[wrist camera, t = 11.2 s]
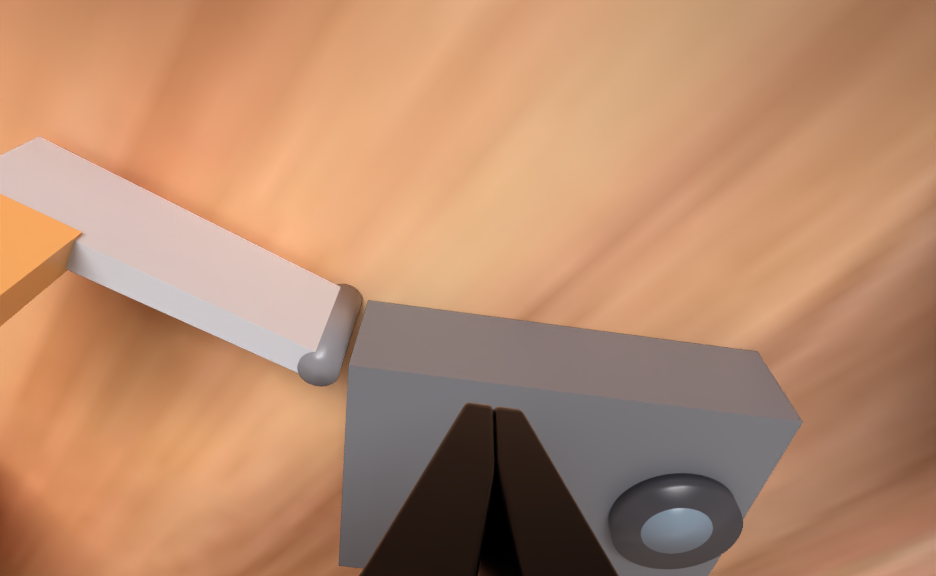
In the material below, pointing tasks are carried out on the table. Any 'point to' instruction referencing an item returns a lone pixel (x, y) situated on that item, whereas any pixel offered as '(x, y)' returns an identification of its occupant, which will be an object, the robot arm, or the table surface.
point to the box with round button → (569, 427)
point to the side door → (163, 261)
